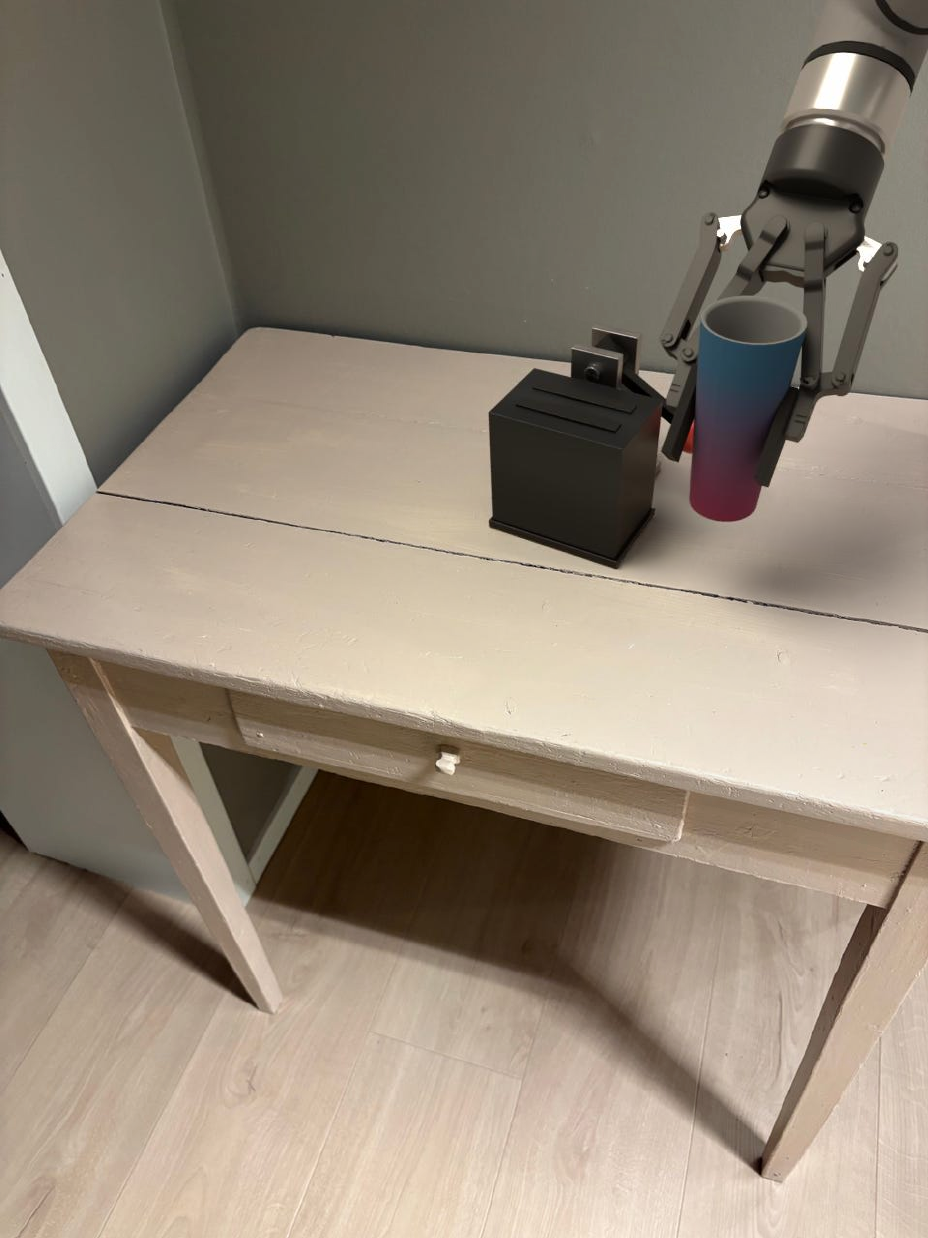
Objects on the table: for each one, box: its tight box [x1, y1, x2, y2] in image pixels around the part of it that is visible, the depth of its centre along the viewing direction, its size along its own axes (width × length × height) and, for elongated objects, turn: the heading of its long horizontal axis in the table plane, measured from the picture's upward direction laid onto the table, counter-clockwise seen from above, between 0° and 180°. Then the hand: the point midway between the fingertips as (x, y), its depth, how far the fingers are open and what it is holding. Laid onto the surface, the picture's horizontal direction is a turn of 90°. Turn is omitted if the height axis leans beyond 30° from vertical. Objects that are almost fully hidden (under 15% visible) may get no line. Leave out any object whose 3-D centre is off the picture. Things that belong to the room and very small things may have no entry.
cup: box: [688, 295, 808, 523], centre depth 68 cm, size 7×7×15 cm
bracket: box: [570, 323, 662, 477], centre depth 87 cm, size 10×6×14 cm, turn 59°
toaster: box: [487, 367, 663, 570], centre depth 83 cm, size 13×8×12 cm
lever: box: [594, 335, 694, 455], centre depth 84 cm, size 13×4×4 cm
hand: (714, 468), depth 67 cm, fingers closed on cup, 6 cm apart
